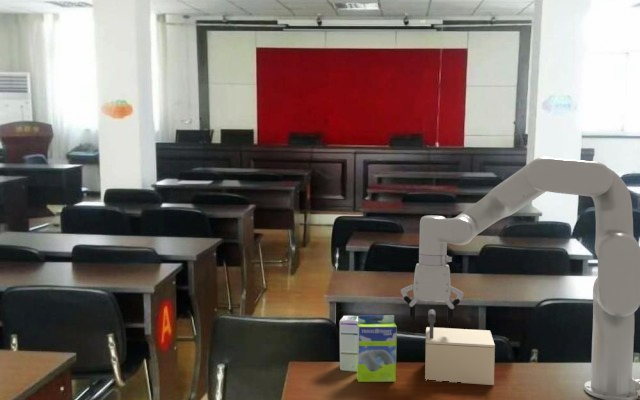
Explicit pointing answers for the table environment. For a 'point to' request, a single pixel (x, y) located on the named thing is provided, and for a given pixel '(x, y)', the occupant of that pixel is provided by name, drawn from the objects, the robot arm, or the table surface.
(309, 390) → the table surface
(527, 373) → the table surface
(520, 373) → the table surface
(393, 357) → the box
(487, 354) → the cream hinged door cabinet
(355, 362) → the syrup box
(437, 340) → the cream panel with handle
